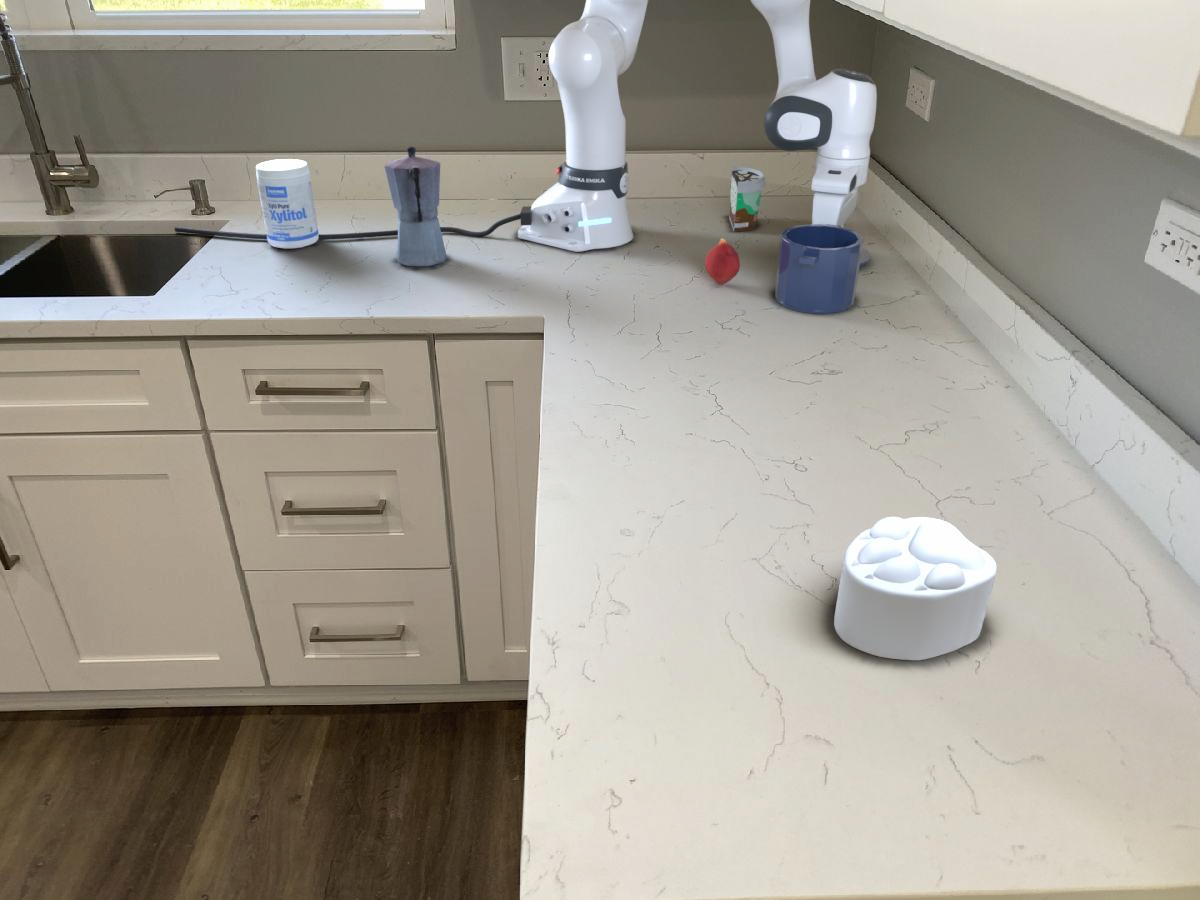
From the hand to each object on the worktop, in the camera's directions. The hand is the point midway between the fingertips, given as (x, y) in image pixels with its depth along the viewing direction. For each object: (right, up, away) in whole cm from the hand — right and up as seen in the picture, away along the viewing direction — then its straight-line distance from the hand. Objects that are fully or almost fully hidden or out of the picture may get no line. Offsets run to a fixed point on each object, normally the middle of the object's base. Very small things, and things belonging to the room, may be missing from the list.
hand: (831, 248), depth 167 cm
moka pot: (-74, -2, +1) cm, 74 cm away
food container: (-12, +9, +19) cm, 25 cm away
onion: (-21, -8, -9) cm, 25 cm away
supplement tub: (-101, +3, +11) cm, 101 cm away
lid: (0, -1, +1) cm, 2 cm away
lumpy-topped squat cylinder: (-14, -52, -82) cm, 98 cm away
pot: (-7, -12, -15) cm, 20 cm away
